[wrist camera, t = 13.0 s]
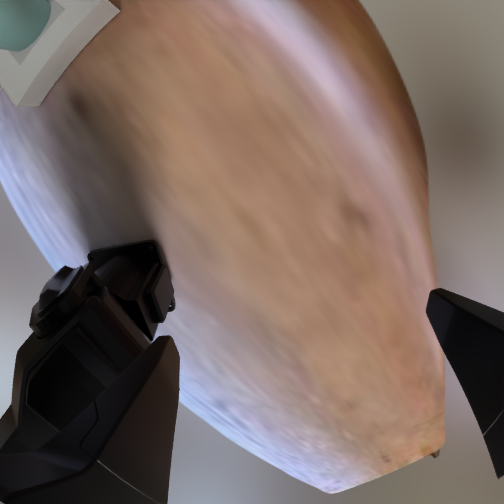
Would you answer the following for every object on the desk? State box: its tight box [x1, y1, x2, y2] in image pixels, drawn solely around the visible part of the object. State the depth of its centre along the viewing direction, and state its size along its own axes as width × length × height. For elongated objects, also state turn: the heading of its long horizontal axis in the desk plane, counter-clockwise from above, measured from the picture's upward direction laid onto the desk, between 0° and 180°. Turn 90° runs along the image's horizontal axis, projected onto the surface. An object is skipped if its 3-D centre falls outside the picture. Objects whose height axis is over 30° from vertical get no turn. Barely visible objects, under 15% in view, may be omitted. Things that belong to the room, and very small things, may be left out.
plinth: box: [0, 0, 120, 107], centre depth 11 cm, size 10×10×3 cm
